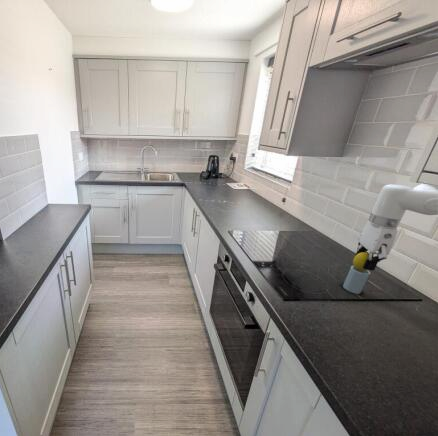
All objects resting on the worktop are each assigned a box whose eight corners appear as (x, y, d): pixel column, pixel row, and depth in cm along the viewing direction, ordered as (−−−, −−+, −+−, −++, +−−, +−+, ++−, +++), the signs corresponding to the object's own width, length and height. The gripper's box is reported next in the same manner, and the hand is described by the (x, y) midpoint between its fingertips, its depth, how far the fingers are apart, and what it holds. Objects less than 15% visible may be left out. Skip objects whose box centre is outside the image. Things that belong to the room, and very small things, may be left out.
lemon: (367, 276, 84) (376, 258, 81) (348, 269, 88) (356, 251, 85) (370, 271, 87) (378, 253, 84) (351, 264, 91) (359, 247, 88)
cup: (356, 286, 93) (365, 267, 89) (364, 295, 88) (373, 275, 84) (340, 283, 94) (348, 264, 91) (346, 291, 89) (355, 272, 86)
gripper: (416, 232, 71) (390, 280, 78) (381, 213, 86) (362, 255, 93) (386, 228, 73) (364, 276, 80) (357, 211, 88) (340, 251, 95)
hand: (363, 264), depth 86 cm, fingers closed on lemon, 5 cm apart
